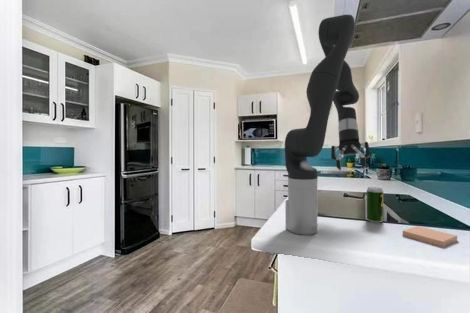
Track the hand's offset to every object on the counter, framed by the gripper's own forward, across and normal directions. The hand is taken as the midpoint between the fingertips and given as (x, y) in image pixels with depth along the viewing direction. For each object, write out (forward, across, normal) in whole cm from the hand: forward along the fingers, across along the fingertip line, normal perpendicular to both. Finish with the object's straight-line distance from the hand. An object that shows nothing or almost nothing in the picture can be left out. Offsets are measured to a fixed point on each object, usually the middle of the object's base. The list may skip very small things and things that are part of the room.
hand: (351, 169), depth 98 cm
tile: (+23, +16, -8) cm, 29 cm away
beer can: (+20, +6, +1) cm, 21 cm away
